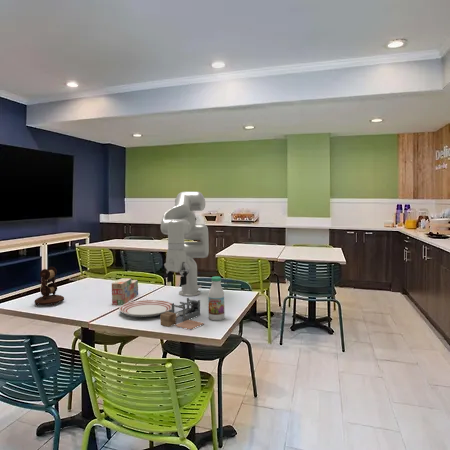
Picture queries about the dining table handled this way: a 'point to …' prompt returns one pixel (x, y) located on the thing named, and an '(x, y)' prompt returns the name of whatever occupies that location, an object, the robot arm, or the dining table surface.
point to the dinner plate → (146, 308)
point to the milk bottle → (216, 300)
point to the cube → (168, 319)
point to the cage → (191, 315)
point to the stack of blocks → (124, 291)
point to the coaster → (189, 324)
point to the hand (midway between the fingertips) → (176, 283)
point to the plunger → (188, 310)
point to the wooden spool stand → (48, 288)
